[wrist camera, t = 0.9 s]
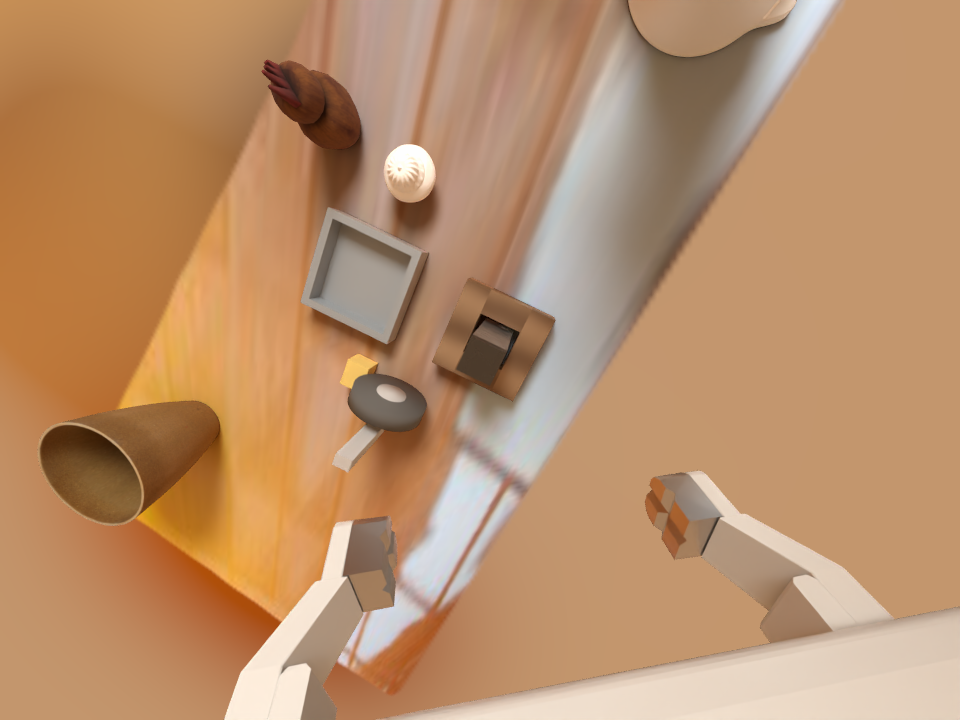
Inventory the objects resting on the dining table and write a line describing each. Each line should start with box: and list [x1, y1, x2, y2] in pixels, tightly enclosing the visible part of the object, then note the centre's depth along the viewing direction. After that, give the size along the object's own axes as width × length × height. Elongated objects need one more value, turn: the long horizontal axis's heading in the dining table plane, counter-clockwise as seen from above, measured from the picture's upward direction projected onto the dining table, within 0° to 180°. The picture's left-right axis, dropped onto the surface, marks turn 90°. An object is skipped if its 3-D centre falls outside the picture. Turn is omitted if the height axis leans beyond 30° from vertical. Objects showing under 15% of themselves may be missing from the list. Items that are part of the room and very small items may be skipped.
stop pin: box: [456, 318, 513, 386], centre depth 44 cm, size 4×4×12 cm
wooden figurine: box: [262, 60, 361, 149], centre depth 38 cm, size 7×6×15 cm
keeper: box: [432, 278, 555, 401], centre depth 48 cm, size 12×12×3 cm
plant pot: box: [38, 401, 220, 526], centre depth 53 cm, size 15×15×16 cm
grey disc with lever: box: [332, 354, 427, 472], centre depth 47 cm, size 7×13×15 cm, turn 65°
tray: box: [301, 207, 429, 344], centre depth 48 cm, size 13×13×3 cm
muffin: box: [384, 144, 436, 203], centre depth 42 cm, size 6×6×7 cm
